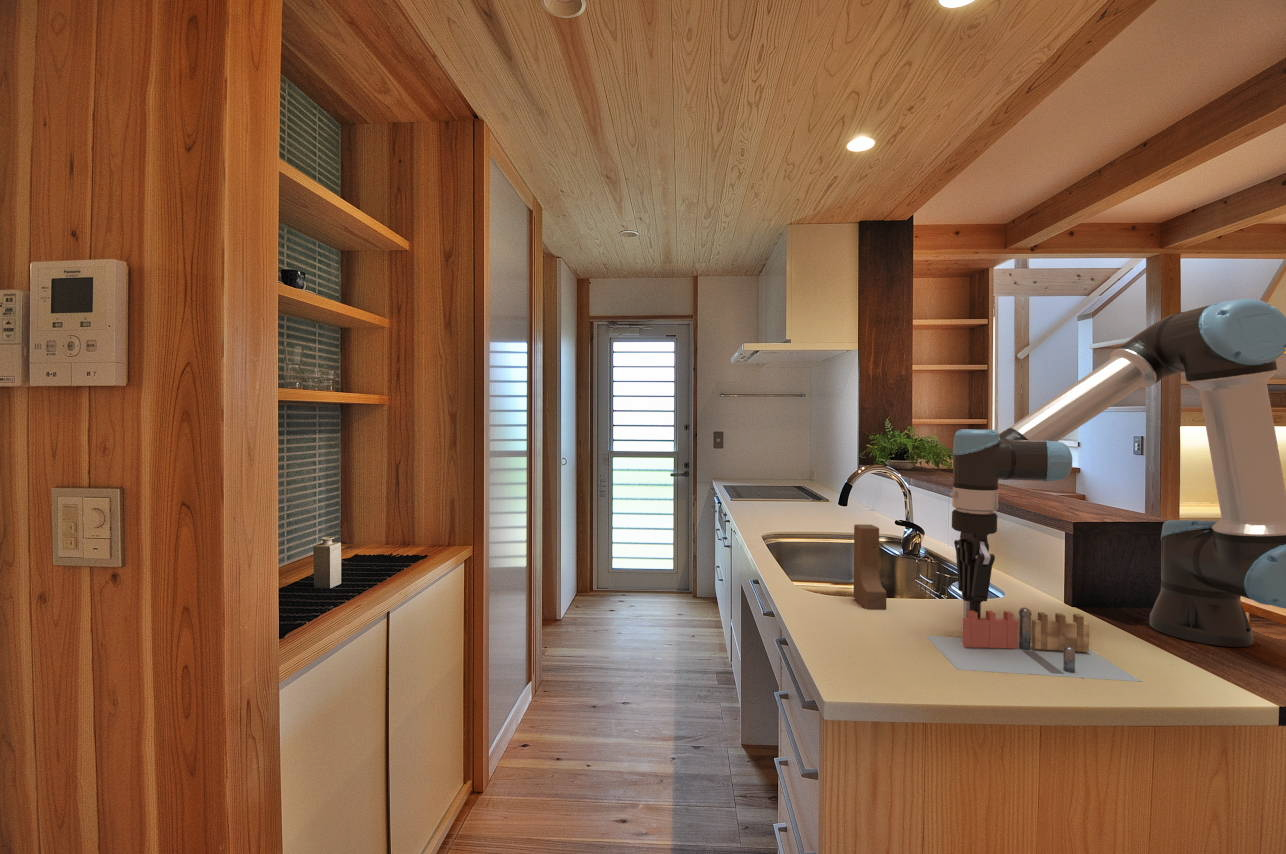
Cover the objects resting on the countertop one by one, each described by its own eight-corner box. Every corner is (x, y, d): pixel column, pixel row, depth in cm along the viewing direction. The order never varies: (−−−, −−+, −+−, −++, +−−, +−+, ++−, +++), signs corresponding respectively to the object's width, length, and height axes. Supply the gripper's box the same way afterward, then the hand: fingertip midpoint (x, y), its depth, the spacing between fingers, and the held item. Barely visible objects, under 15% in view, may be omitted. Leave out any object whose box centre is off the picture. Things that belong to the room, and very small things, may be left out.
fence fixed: (1084, 649, 107) (1085, 614, 107) (1089, 652, 105) (1089, 617, 105) (1031, 646, 108) (1031, 611, 108) (1035, 649, 107) (1035, 614, 107)
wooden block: (887, 611, 130) (887, 531, 130) (866, 611, 130) (867, 530, 130) (871, 599, 139) (872, 524, 139) (852, 599, 139) (853, 524, 139)
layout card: (1082, 646, 110) (1082, 644, 110) (1142, 684, 94) (1142, 681, 94) (925, 637, 114) (925, 635, 114) (957, 671, 98) (957, 669, 98)
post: (1027, 647, 108) (1028, 606, 108) (1033, 651, 107) (1033, 609, 107) (1016, 646, 109) (1016, 605, 109) (1021, 650, 107) (1021, 609, 107)
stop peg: (1071, 669, 99) (1071, 645, 99) (1077, 673, 97) (1077, 649, 97) (1061, 668, 99) (1061, 645, 99) (1066, 672, 97) (1067, 648, 97)
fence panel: (1014, 645, 108) (1014, 611, 108) (1018, 648, 107) (1019, 613, 107) (962, 644, 109) (962, 610, 109) (966, 647, 107) (966, 612, 107)
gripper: (941, 504, 117) (938, 620, 118) (966, 515, 105) (963, 645, 105) (981, 505, 116) (978, 623, 117) (1011, 517, 104) (1008, 648, 104)
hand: (971, 633), depth 111 cm, fingers closed
